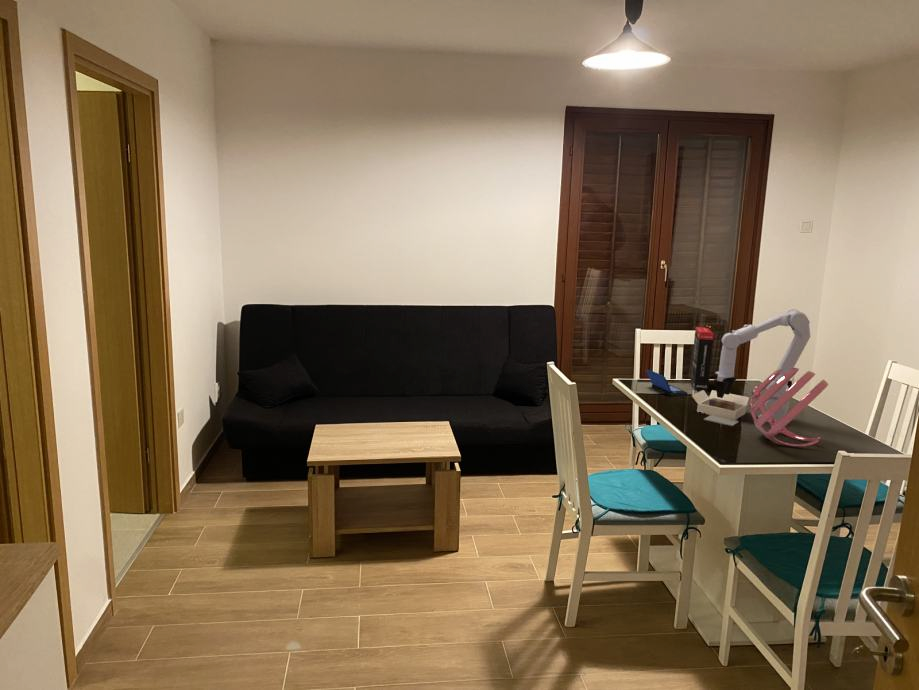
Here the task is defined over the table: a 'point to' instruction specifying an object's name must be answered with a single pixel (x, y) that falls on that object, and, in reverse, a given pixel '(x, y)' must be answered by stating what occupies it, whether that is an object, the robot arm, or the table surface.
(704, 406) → the carton
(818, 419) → the table surface
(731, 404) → the capped block
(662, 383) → the handheld game console
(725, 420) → the grey mat
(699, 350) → the graphics card box
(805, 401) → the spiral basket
